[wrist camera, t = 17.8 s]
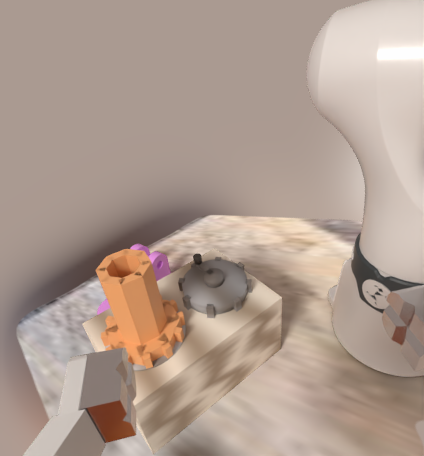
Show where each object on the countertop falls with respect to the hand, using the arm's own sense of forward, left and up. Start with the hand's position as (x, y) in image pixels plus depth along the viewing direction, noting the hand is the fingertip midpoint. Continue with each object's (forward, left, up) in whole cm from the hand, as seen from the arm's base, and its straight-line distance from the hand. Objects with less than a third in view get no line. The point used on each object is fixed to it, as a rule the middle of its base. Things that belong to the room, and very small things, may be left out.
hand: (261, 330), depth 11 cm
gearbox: (-7, -21, -32) cm, 39 cm away
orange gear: (-2, -21, -22) cm, 31 cm away
